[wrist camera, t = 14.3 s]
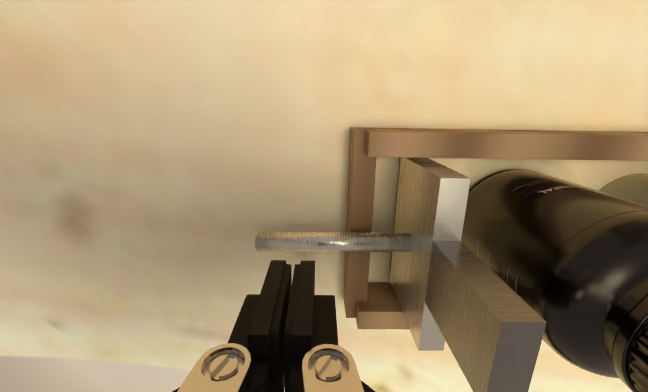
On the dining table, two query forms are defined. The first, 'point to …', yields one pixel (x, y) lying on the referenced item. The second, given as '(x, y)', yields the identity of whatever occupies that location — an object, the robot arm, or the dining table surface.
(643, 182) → the blue jar
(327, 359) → the robot arm
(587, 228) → the supplement bottle
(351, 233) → the pusher
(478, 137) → the brown wooden open box
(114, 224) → the dining table surface
